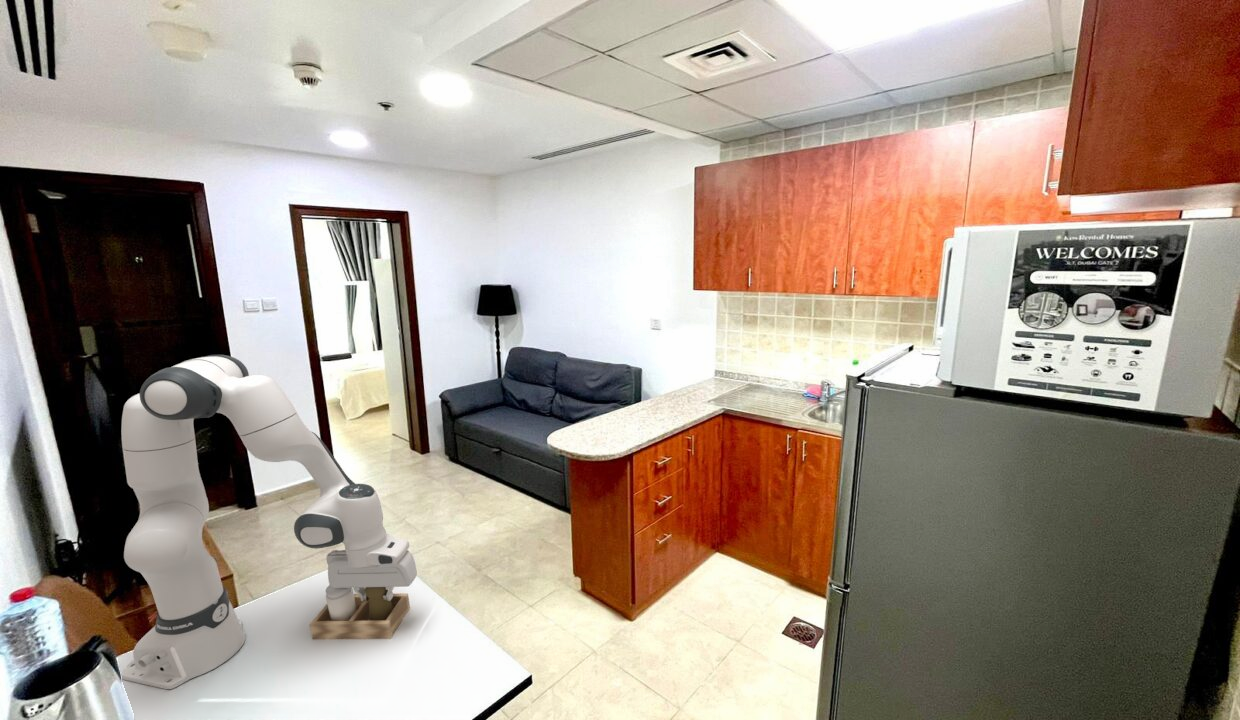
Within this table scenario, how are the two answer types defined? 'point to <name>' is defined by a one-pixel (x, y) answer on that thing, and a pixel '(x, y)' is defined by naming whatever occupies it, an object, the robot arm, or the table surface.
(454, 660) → the table surface
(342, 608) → the salt shaker
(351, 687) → the table surface
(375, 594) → the cork
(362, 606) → the caddy
